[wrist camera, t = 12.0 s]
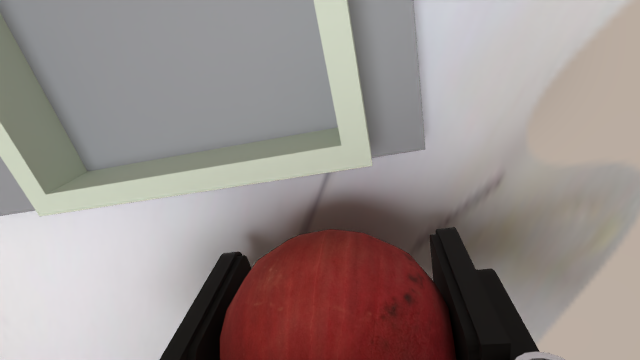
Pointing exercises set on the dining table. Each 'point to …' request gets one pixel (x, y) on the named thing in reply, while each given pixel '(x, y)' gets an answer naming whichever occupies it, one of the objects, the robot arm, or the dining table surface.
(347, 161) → the socket
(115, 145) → the board
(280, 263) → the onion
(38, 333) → the dining table surface
